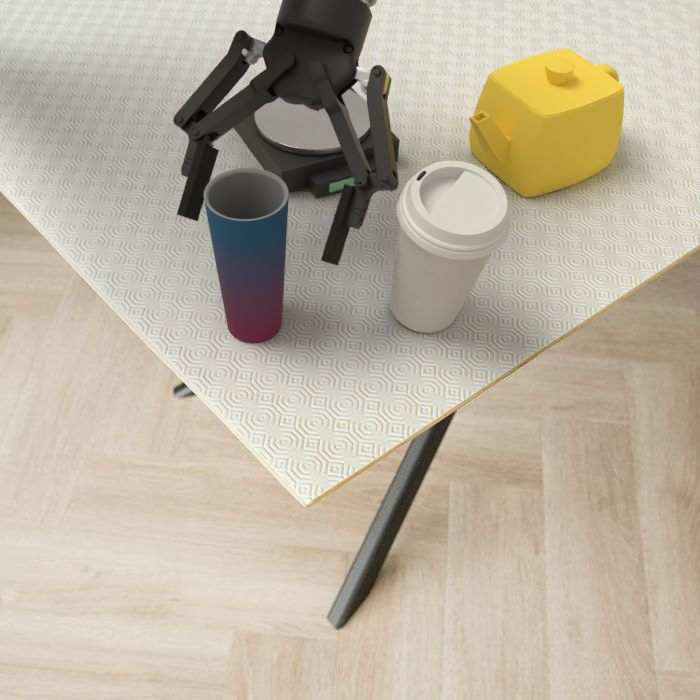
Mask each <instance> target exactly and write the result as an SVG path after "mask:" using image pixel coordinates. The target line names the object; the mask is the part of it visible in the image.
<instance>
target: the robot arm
mask: <svg viewBox="0 0 700 700" xmlns="http://www.w3.org/2000/svg"><path fill="white" fill-rule="evenodd" d="M377 2H378V0H282V1H281V3H280V6H279V11H278V13H277V17H276V19H275V24H274V25H275V26H274V32H273V34H272V36H271V37H270V39H269V40H268V41H267V42H265V41H262V40H260V39H257V38H255V37H252V36H251V35H250V34H249V33H248V32H247V31H246V30H244V29H240V30H238V31H236V33H235V34H234V36H233V38H232V41H231V44H230V46H229V48H228V50H227V53H226V54H225V56H224V57H223V58H222V59H221V60H220V61H219V63H217V65H216V66H215V67H214V68H213V70H212V71H211V72H210V73H209V74H208V76H207V77H206V78H205V79H204V80H203V81H202V82H201V84H200V85H199V86H198V87H197V89H195V91H194V92H192V95H190V96H189V98H188V99H187V100H186V101H185V103H183V105H182V106H181V107H180V108H179V110H178V111H177V112H176V113H175V114H174V115H173V120H172V121H173V124H174V126H176V127H178V128H179V129H181V130H182V131H183V132H184V133H185V134H186V135H187V136H188V144H187V146H186V147H187V148H186V150H185V153H184V158H183V161H182V165H181V167H180V173H181V176H183V177H185V178H186V182H185V185H184V189H183V191H182V195H181V199H180V200H179V201H180V202H179V206H178V209H177V212H176V215H177V216H179V217H183V218H186V219H188V220H192V221H195V222H198V221H199V218H200V215H201V213H202V212H201V211H202V208H203V206H204V190H205V188H206V186H207V184H208V183H209V182H210V181H211V180H212V175H213V172H214V168H215V164H216V161H217V158H218V156H219V151H220V150H219V149H218V148H216V147H215V145H214V142H215V141H217V140H219V139H220V138H221V137H223V136H224V135H225V134H227V133H228V132H230V131H231V130H233V129H234V127H235V126H236V125H238V124H239V123H240V122H242V121H243V120H245V119H246V118H247V117H249V116H250V115H251V114H253V113H254V112H256V111H257V110H258V109H260V108H261V107H262V106H264V105H265V104H267V103H271V102H273V101H275V100H276V99H278V98H279V97H280V98H281V99H282V100H284V101H285V102H286V103H290V104H294V105H300V104H303V105H305V106H306V107H308V108H310V109H312V110H316V111H319V110H320V109H324V108H325V111H326V112H327V114H328V116H329V118H330V121H331V123H332V126H333V128H334V131H335V133H336V136H337V138H338V141H339V143H340V146H341V148H342V151H343V153H344V156H345V158H346V161H347V163H348V166H349V168H350V171H351V173H352V176H353V178H354V182H353V183H354V184H355V187H353V186H350V185H347V184H344V187H343V190H342V191H341V192H340V193H341V194H340V197H339V200H338V204H337V206H336V209H335V213H334V216H333V220H332V222H331V226H330V228H329V232H328V235H327V238H326V242H325V244H324V248H323V251H322V253H321V258H320V261H321V262H324V263H327V264H331V265H333V266H337V267H339V264H340V262H341V258H342V255H343V251H344V248H345V246H346V242H347V239H348V236H349V233H350V229H354V230H358V231H359V230H360V229H361V228H362V227H363V225H364V222H365V219H366V215H367V213H368V209H369V206H370V203H371V200H372V197H373V195H374V194H376V193H378V192H384V191H385V192H386V191H388V192H394V191H396V190H397V189H398V188H399V184H400V183H399V176H398V168H397V163H396V160H395V153H394V146H393V139H392V132H393V131H392V126H391V119H390V113H389V105H388V104H389V103H388V99H389V94H390V89H391V86H392V85H391V84H392V77H391V75H389V73H388V72H387V69H385V68H384V66H382V64H381V65H380V64H376V65H374V66H372V67H363V66H359V61H360V56H361V54H362V51H363V49H364V45H365V42H366V39H367V35H368V32H369V29H370V25H371V22H372V19H373V13H372V10H371V8H372V7H374V6H375V5H376V4H377ZM261 58H262V59H263V62H264V65H265V69H263V70H262V71H261V72H260V73H259V74H257V75H255V76H254V77H253V78H251V80H250V81H249V84H248V85H246V86H245V87H243V89H241V90H240V91H238V92H237V93H236V94H234V95H233V96H231V97H230V98H229V99H228V100H226V101H224V103H222V104H221V105H220V103H221V102H222V101H223V100H224V99H225V98H226V97H227V95H228V94H229V93H230V92H231V91H232V90H233V88H234V87H236V85H237V84H238V83H239V82H240V80H241V79H242V78H243V77H244V76H245V74H246V73H247V72H248V70H249V68H250V67H251V66H252V65H255V64H258V61H259V60H260V59H261ZM357 83H359V84H360V90H361V91H362V92H363V93H364V95H365V96H366V102H367V107H368V114H369V121H370V128H371V135H372V142H373V149H374V156H375V163H376V170H377V173H373V174H372V172H371V169H370V167H369V164H368V162H367V159H366V157H365V154H364V152H363V149H362V147H361V144H360V142H359V139H358V137H357V134H356V132H355V129H354V127H353V124H352V122H351V119H350V116H349V112H348V109H347V107H346V104H345V102H344V99H343V97H342V95H343V94H344V93H345V92H346V91H347V90H349V89H350V88H351V87H352V88H353V87H354V86H355V85H356V84H357ZM391 131H392V132H391Z"/></svg>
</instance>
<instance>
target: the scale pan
mask: <svg viewBox="0 0 700 700" xmlns="http://www.w3.org/2000/svg"><path fill="white" fill-rule="evenodd" d="M342 97H343V99H344V102H345V104H346V107H347V109H348V112H349V116H350V119H351V122H352V124H353V127H354V129H355V132H356V134H357V137H358V139H359V142H362V141H363V140H364V139H365V138H366V137H367V136H368V134H369V133H370V131H371V128H370V121H369V114H368V107H367V100H366V99H364V97H362V96H361V95H360V94H359V93H358V92H357V93H355V92H353V91H351V90H347V91H346V92H345V93H344V94H343V95H342ZM254 117H255V126H256V129H257V131H258V132H259V134H260V135H261V136H262V138H263V139H265V140H266V141H267V142H268V143H270V144H271V145H273V146H275V147H277V148H279V149H282V150H284V151H287V152H291V153H296V154H301V155H328V154H334V153H338V152H342V148H341V146H340V143H339V141H338V138H337V136H336V133H335V131H334V128H333V126H332V123H331V121H330V118H329V116H328V114H327V112H326V111H325V108H324V109H320V110H319V111H316V110H312V109H310V108H308V107H306V106H305V105H303V104H300V105H294V104H290V103H286V102H285V101H284V100H282V99H281V98H280V97H279V98H278V99H276V100H275V101H273V102H271V103H267V104H265V105H264V106H262V107H261V108H260V109H258V110H257V111H256V112H255V115H254Z"/></svg>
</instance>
